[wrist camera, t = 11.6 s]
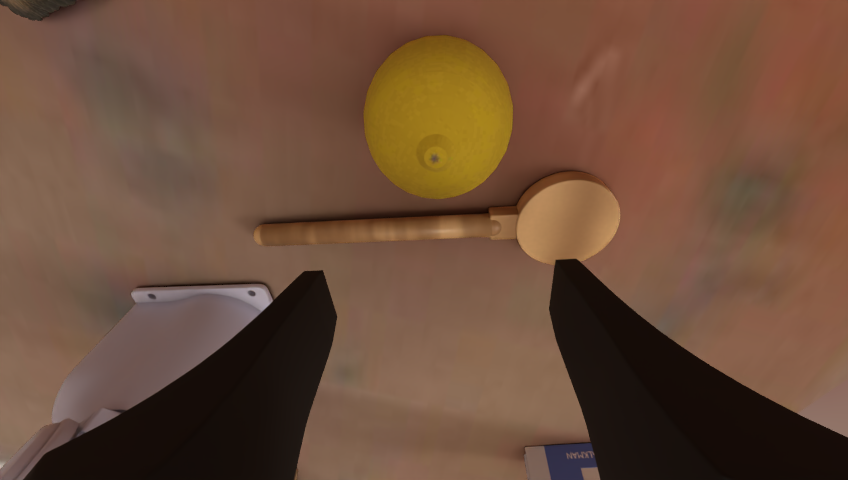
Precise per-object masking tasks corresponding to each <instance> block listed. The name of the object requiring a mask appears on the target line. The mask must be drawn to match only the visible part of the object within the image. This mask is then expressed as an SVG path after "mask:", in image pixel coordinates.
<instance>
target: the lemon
mask: <svg viewBox="0 0 848 480" xmlns="http://www.w3.org/2000/svg"><path fill="white" fill-rule="evenodd" d="M512 124H513V104H512V100H511V96H510V91H509V87H508V84H507V82H506V80H505V78H504V76H503V74H502V72H501V71H500V69H499V67H498V65H497V64H496V63H495V62H494V61H493V60H492V59H491V58H490V57H489V56H488V55H487V54H486V53H485V52H484V51H483V50H482V49H481V48H479V47H477V46H475V45H474V44H472V43H470V42H468V41H467V40H464V39H460V38H456V37H452V36H448V35H438V36H425V37H422V38H419V39H416V40H413V41H410V42H407V43H406V44H404V45H403V46H402V47H400V48H399V49H397V50H396V51H394V52H393V53H391V54H390V55H389V57H388V58H387V59H386V60H385V61H384V63H383V64H382V65H381V66H380V67H379V69H378V70H377V71H376V74H375V76H374V78H373V80H372V82H371V84H370V86H369V89H368V91H367V96H366V102H365V107H364V128H365V137H366V140H367V143H368V146H369V149H370V152H371V155H372V157H373V159H374V161H375V162H376V164H377V165H378V167H379V169H380V170H381V172H382V173H383V174H384V175H385V176H386V177H387V178H388V179H389V180H390V181H391V182H392V183H393V184H395V185H396V186H398V187H399V188H401V189H403V190H404V191H406V192H408V193H411V194H414V195H417V196H420V197H423V198H433V199H442V198H450V197H455V196H458V195H461V194H464V193H466V192H469V191H471V190H472V189H474V188H475V187H477V186H478V185H480V184H481V183H483V182H484V181H485V180H486V179H487V178H488V177H489V176H490V174H491V173H492V172H493V171H494V170H495V169H496V168H497V166H498V164H499V162H500V161H501V159H502V157H503V156H504V154H505V152H506V150H507V146H508V143H509V139H510V136H511V132H512Z"/></svg>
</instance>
